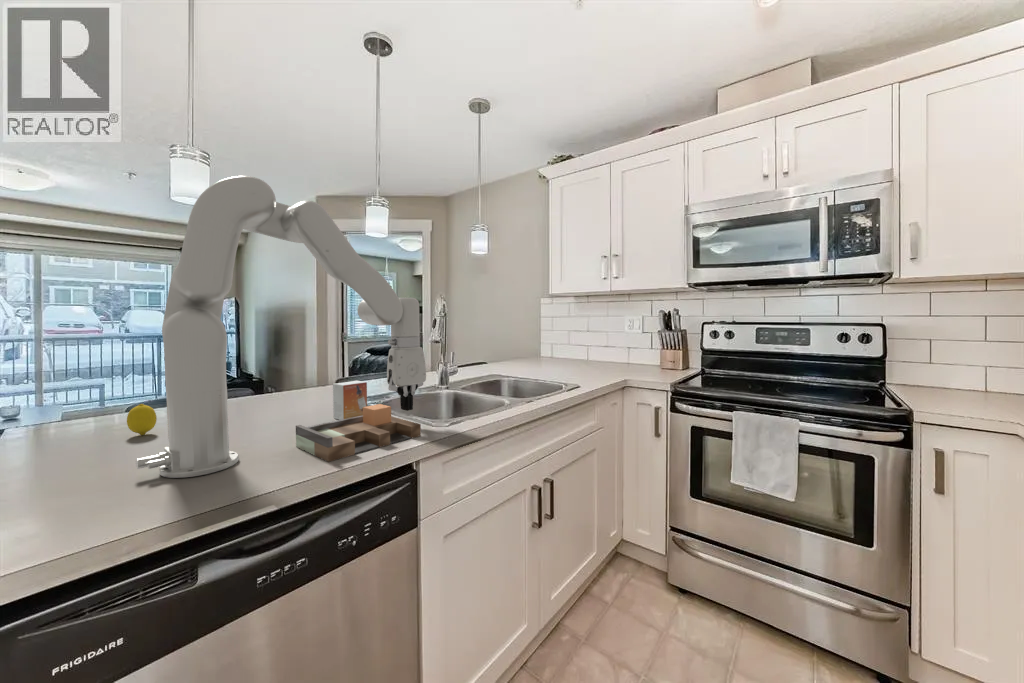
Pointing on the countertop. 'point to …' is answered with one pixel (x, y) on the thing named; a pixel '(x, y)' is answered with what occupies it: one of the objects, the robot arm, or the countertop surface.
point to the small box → (349, 399)
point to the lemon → (141, 419)
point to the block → (376, 414)
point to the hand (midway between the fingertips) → (406, 409)
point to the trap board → (352, 436)
